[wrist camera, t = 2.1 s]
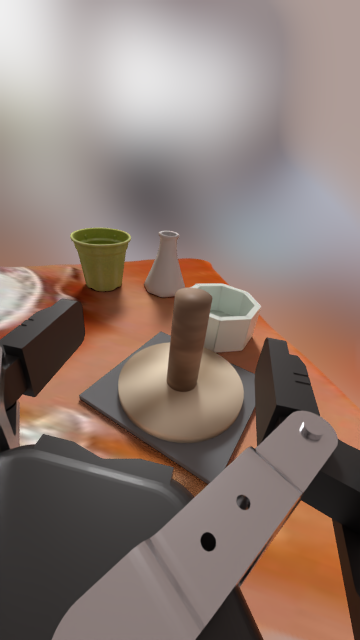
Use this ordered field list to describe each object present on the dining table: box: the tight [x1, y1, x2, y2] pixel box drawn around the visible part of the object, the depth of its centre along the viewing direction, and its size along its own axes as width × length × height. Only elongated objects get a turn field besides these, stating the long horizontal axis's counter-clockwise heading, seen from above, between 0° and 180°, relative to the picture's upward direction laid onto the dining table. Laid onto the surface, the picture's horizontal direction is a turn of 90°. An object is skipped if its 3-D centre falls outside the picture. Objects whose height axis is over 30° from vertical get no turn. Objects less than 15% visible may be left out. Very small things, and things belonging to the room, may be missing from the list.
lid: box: [118, 288, 244, 443], centre depth 26 cm, size 13×13×11 cm
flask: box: [144, 231, 185, 297], centre depth 47 cm, size 7×7×10 cm
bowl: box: [191, 284, 261, 353], centre depth 39 cm, size 10×10×5 cm
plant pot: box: [70, 228, 131, 291], centre depth 46 cm, size 9×9×9 cm
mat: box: [79, 332, 255, 484], centre depth 29 cm, size 15×14×1 cm
